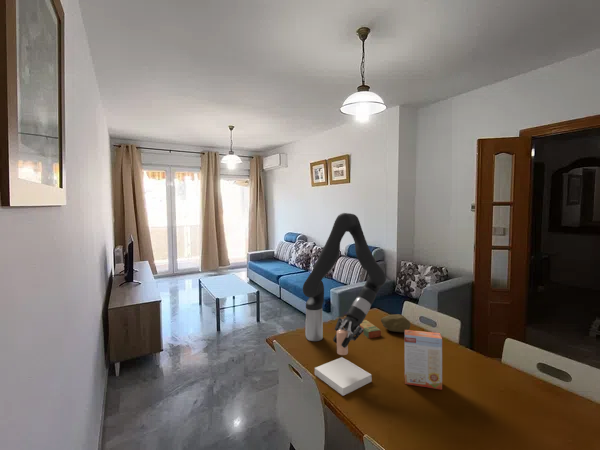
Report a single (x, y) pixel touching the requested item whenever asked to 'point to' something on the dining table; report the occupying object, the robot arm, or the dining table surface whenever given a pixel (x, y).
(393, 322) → the decorative stone
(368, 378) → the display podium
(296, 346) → the dining table surface
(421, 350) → the cracker box
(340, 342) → the canister
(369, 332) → the carton
